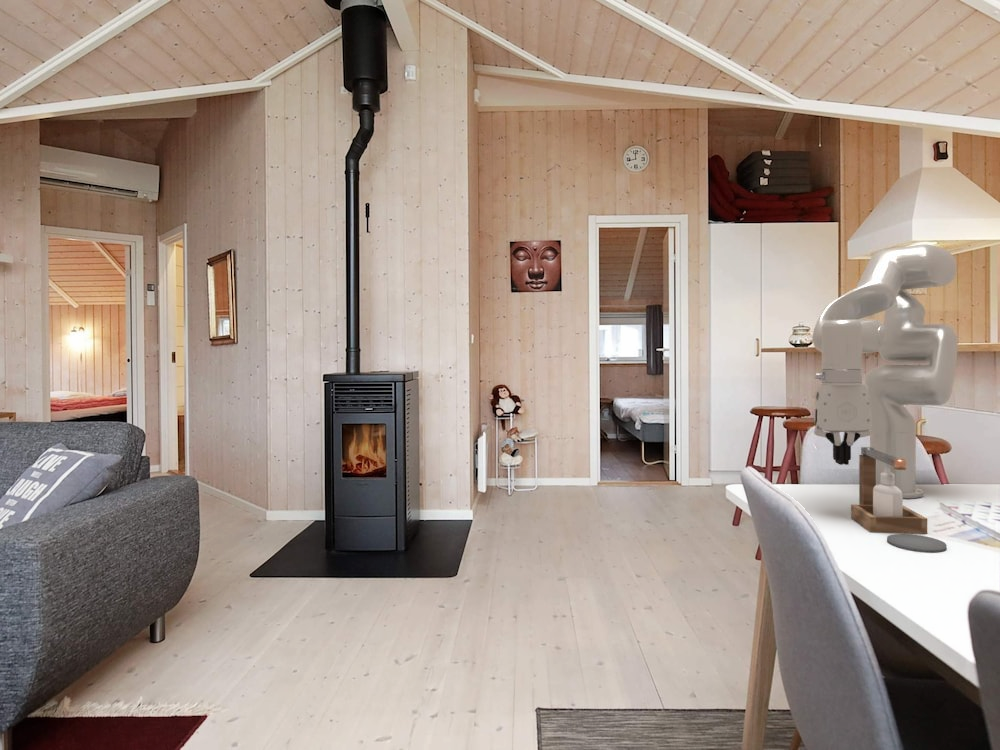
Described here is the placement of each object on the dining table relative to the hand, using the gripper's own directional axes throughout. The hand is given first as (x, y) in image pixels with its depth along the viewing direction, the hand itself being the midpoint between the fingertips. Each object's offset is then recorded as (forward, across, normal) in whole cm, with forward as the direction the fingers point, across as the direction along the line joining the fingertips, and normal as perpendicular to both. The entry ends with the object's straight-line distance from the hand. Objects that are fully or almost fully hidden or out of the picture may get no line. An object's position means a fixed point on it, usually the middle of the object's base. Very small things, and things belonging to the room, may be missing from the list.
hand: (841, 463), depth 130 cm
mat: (+12, +6, -18) cm, 22 cm away
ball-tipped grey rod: (-1, +6, -4) cm, 7 cm away
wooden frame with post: (+12, +6, -3) cm, 14 cm away
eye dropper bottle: (+12, +6, -6) cm, 15 cm away
